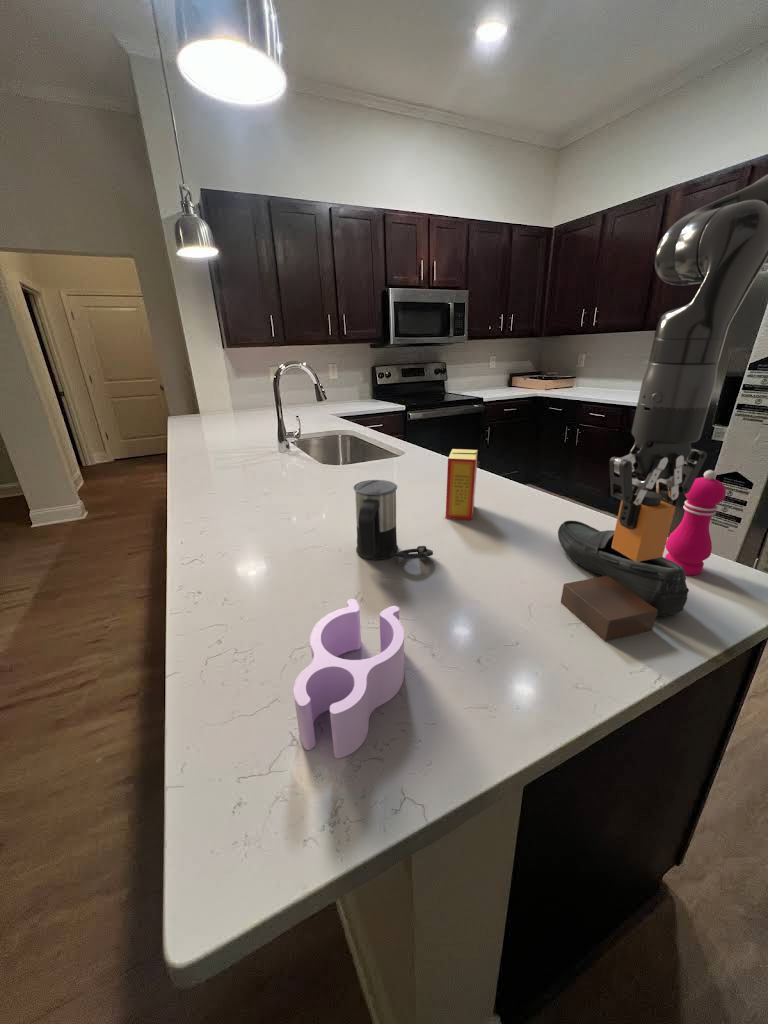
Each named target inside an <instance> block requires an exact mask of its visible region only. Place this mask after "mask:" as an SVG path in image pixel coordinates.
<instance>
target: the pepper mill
mask: <svg viewBox="0 0 768 1024" xmlns="http://www.w3.org/2000/svg"><path fill="white" fill-rule="evenodd" d="M716 477H717V473H716V471H715V470H712V469H708V470H706V471H704V473H703V476H701V477H696V479H695V481H694V483H693V485H692V487H691V489H690V491H689V492H688V493H687V494H684V496H685V498H686V500H685V501H684V505H682V506H683V507H682V508H683V510H684V514H683V517H682V520H681V521H680V523H679V524H678V526H677V527H676V528H675V529H674V530H673V531H672V532H671V533H670V535H668V538H667V541H666V545H665V549H666V551H667V553H666V554H665V556H664V558H666V559H669V560H671V561H673V562H674V563H676V564H678V565H680V566H681V567H682V568H683V569H684V570H685V575H687V576H698V575H700V574H701V573H702V572H703V569H704V566H705V563H704V561H705V560H707V559H709V558H710V556H711V555H712V549H713V542H712V539H711V534H710V523H711V519H712V517H713V516H715V515H716V514H717V510H718V508H719V507H718V504H720V503H722V502H723V501H724V500H725V498H726V495H727V490H726V486H725V485H724V484H723V482H721V481H720V480H718V479H716Z"/></svg>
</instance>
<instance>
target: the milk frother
mask: <svg viewBox="0 0 768 1024" xmlns="http://www.w3.org/2000/svg"><path fill="white" fill-rule="evenodd" d="M353 490H354V495H355V521H356V548H355V550H356V553H357V554H358V555H359V556H360V557H362V558H365V559H370V560H384V559H389V558H391V557H396V558H401V559H427V558H428V557H431V556H433V555H434V551H433V550H432V549H429V548H427V546H426V545H418V546H417V547H416V548H408V549H403V550H401V551H399V546H398V540H397V538H398V537H397V536H398V535H397V490H398V485H397V484H396V483H395V482H393V481H390V480H387V479H386V480H385V479H369V480H363V481H359V482H357V483H355V484H354V485H353Z"/></svg>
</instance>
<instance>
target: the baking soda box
mask: <svg viewBox="0 0 768 1024" xmlns="http://www.w3.org/2000/svg"><path fill="white" fill-rule="evenodd" d="M478 452H479V449H468V448H467V449H465V448H451V451H450V453H449V456H448V458H447V472H446V473H447V475H446V499H445V519H452V520H453V519H454V520H465V521H472V520H473V513H474V509H475V498H476V497H475V496H476V485H477V483H476V482H477V468H478V454H479V453H478Z"/></svg>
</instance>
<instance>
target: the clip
mask: <svg viewBox="0 0 768 1024" xmlns="http://www.w3.org/2000/svg"><path fill="white" fill-rule="evenodd" d="M346 603H347V604H346V605H347V606H346V607H342V608H339V609H336V610H334V611H332V612H330V613H327V614H326V615H324V616H323V617H322V618H321V619H319V620H318V621H317V622H316V624H315V625H314V626H313V627H312V630H311V633H310V637H309V644H310V653H311V662H310V663H309V665H307V667H305V668H304V669H303V670H302V671H301V672H300V673H299V674H298V675H297V677H296V679H295V681H294V684H293V688H292V690H293V698H294V706H295V707H294V708H295V712H296V719H297V720H296V721H297V728H298V734H299V741H300V743H301V745H302V747H303V749H304V750H305V751H310V750H312V749H313V748H315V746H316V744H317V742H316V733H315V726H314V722H315V721H316V719H317V718H318V717H319V716H320V715H321V714H323V713H325V712H327V711H329V717H330V726H331V727H330V728H331V737H332V747H333V756H334V758H335V759H339V760H340V759H343V758H345V757H347V756H349V755H352V754H353V753H354V752H356V751H357V750H358V749H359V748H360V747H361V746H362V745H363V743H364V742H365V740H366V738H367V737H368V733H369V728H370V727H369V725H370V722H369V721H370V716H371V715H372V713H373V712H374V710H375V709H377V708H379V707H380V706H382V705H384V704H386V703H388V702H389V701H390V700H392V699H393V698H394V697H395V696H396V695H397V694H398V693H399V691H400V690H401V688H402V686H403V683H404V679H405V631H404V627H403V624H402V622H401V621H400V607H399V606H397V605H391V606H389V607H387V608H385V609H383V610H382V611H381V612H380V613H379V639H380V640H379V642H380V643H379V645H380V653H378V654H376V655H374V656H370V657H368V658H362V659H346V658H341V657H340V656H342V655H343V654H345V653H348V652H353V651H357V650H361V649H362V634H361V633H362V632H361V616H360V615H361V613H360V605H359V602H358V600H357V599H356V598H351V599H350V598H349V599H347V602H346Z"/></svg>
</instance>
